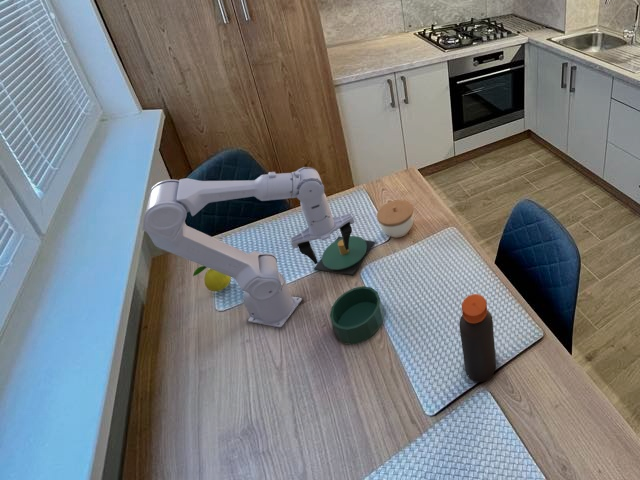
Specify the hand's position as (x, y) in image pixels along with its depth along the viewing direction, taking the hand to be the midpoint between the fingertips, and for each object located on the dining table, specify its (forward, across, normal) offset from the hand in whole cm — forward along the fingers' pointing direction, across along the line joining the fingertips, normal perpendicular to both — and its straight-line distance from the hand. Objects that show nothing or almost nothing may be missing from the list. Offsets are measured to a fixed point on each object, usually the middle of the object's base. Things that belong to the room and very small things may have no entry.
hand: (331, 254), depth 105 cm
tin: (+10, +1, -15) cm, 18 cm away
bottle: (+11, +20, -41) cm, 47 cm away
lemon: (+10, -27, +17) cm, 33 cm away
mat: (+10, +3, +8) cm, 14 cm away
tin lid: (+9, +4, +8) cm, 13 cm away
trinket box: (+11, +20, +9) cm, 24 cm away
